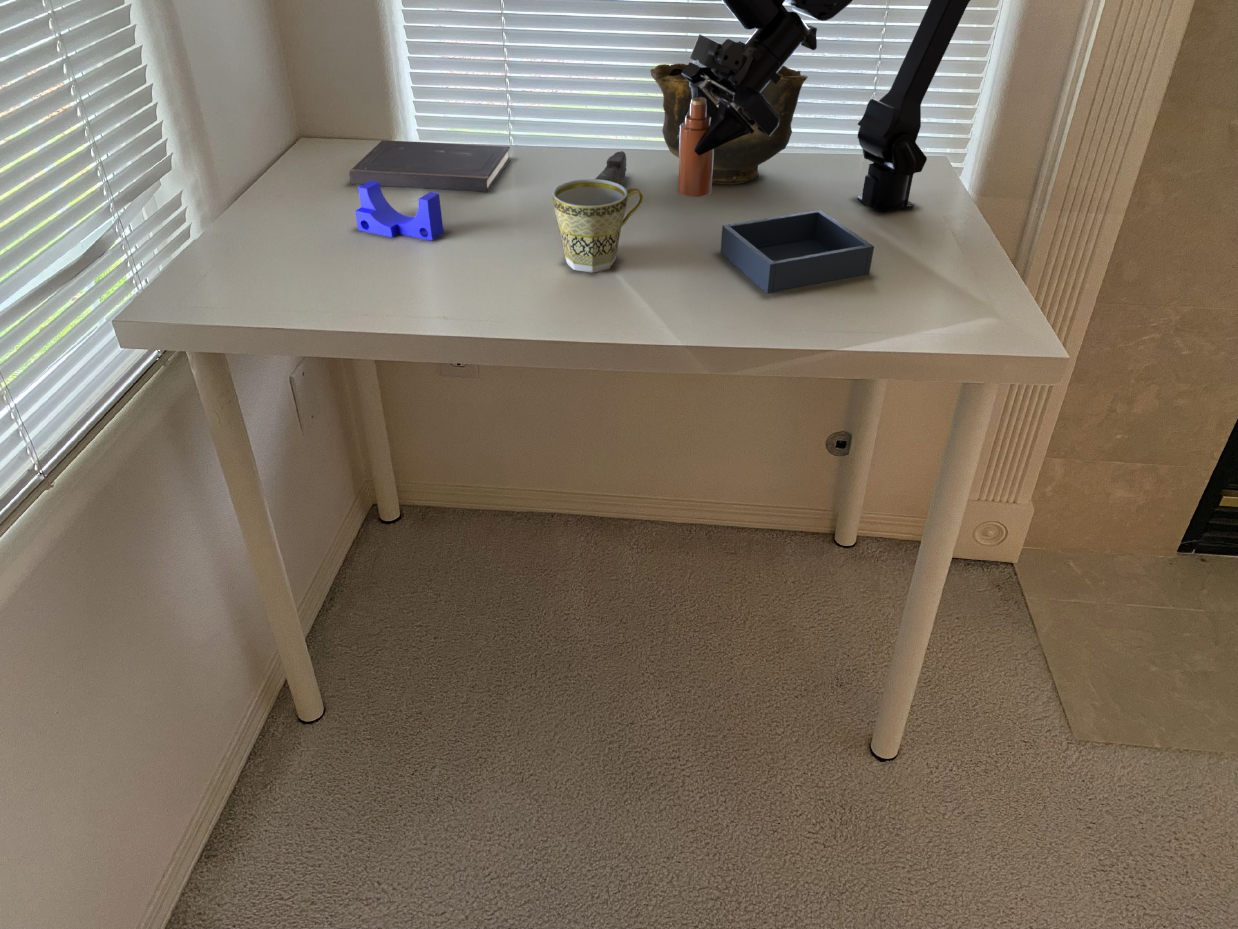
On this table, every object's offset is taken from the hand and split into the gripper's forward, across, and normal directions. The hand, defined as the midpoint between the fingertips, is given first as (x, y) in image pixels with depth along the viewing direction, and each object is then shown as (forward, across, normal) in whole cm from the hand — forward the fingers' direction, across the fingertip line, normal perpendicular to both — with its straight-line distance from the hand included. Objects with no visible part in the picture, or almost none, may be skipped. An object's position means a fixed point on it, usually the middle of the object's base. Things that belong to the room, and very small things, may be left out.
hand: (687, 147), depth 128 cm
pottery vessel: (-3, -21, +22) cm, 31 cm away
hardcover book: (+28, -41, -10) cm, 51 cm away
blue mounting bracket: (+36, -19, -17) cm, 44 cm away
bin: (+3, +14, +16) cm, 22 cm away
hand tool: (+13, -21, +7) cm, 25 cm away
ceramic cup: (+19, +2, 0) cm, 19 cm away
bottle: (+4, 0, +5) cm, 6 cm away
